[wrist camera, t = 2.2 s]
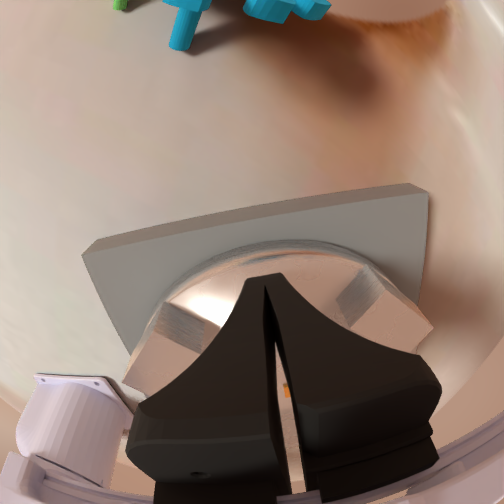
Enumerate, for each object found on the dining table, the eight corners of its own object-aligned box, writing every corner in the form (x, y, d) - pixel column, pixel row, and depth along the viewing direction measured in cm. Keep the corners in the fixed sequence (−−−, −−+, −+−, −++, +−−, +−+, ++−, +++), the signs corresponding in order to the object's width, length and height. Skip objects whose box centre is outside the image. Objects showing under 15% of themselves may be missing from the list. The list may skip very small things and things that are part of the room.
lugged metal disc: (193, 436, 20) (190, 476, 16) (100, 271, 13) (65, 319, 9) (385, 403, 19) (400, 440, 16) (416, 214, 13) (465, 248, 9)
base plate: (188, 420, 22) (186, 440, 20) (96, 239, 15) (79, 256, 13) (385, 386, 22) (393, 404, 20) (409, 183, 14) (430, 193, 12)
